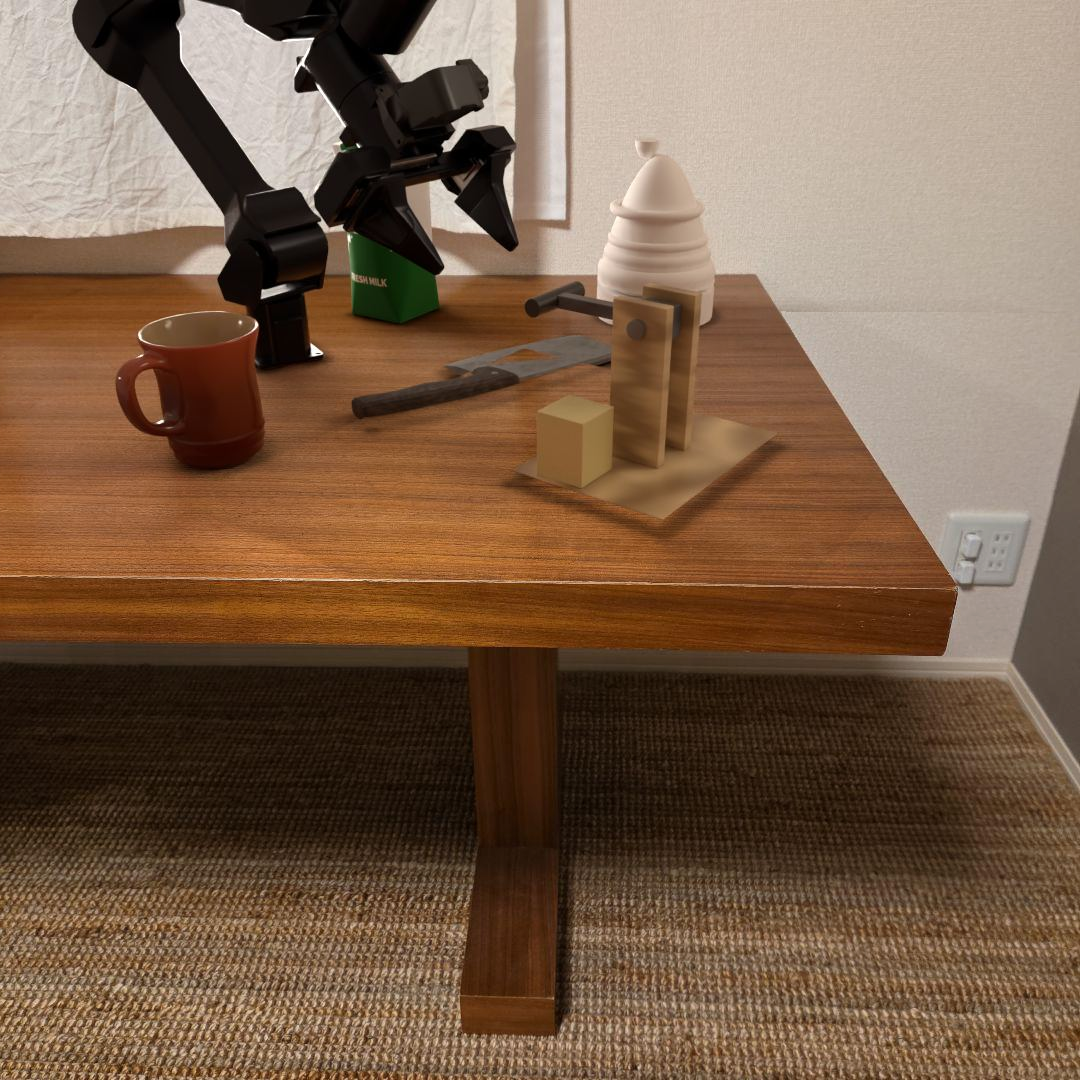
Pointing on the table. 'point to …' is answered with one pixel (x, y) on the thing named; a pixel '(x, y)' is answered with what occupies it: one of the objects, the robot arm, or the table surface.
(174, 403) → the mug
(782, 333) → the table surface
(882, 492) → the table surface
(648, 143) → the honey pot
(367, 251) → the milk carton
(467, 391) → the cleaver
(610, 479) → the wooden stand
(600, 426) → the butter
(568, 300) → the dark grey t-shaped bar
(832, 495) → the table surface
